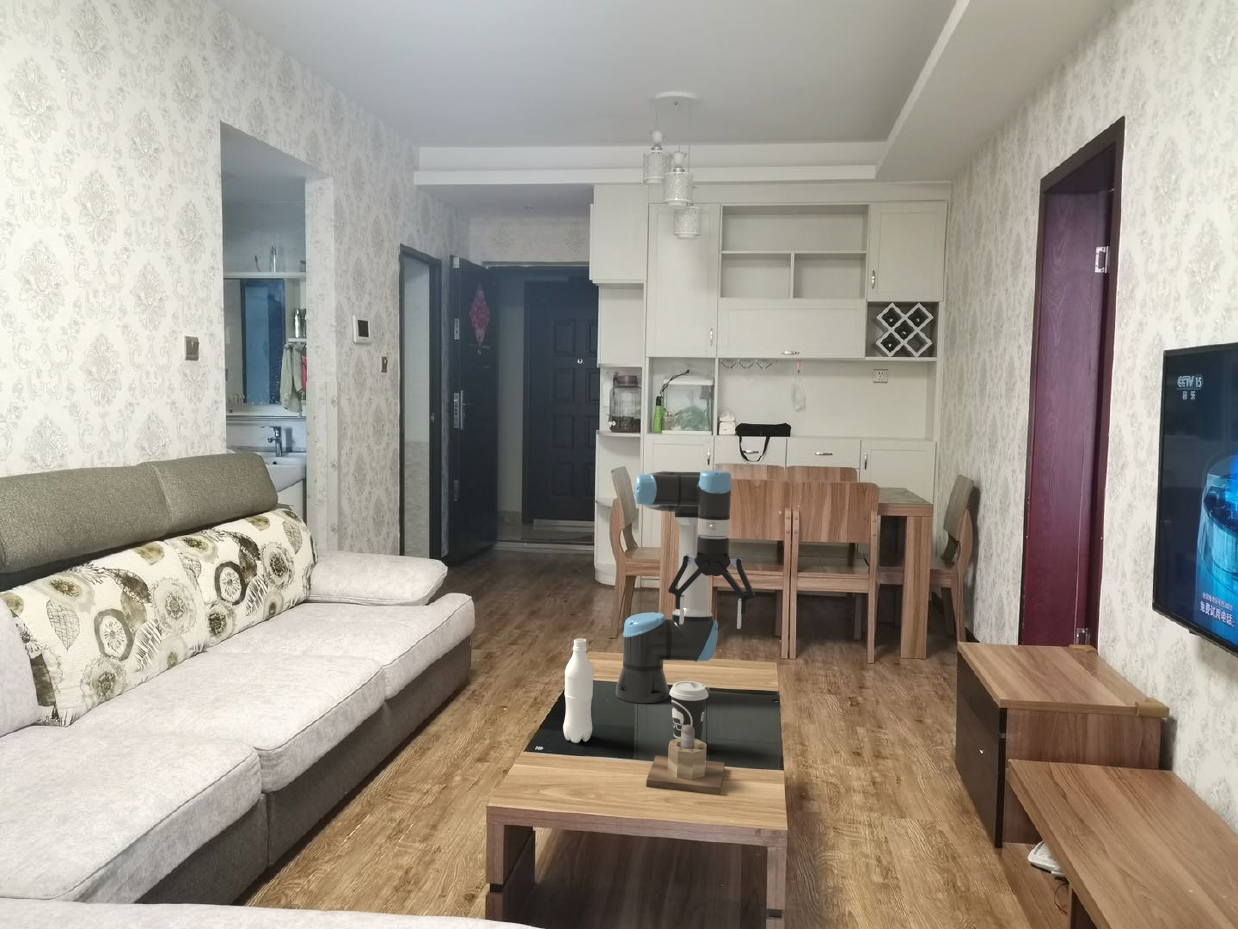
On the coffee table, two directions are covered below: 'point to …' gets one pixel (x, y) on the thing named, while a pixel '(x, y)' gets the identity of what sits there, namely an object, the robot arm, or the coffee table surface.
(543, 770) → the coffee table surface
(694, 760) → the collar
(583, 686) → the water bottle
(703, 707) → the coffee cup
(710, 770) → the post base
